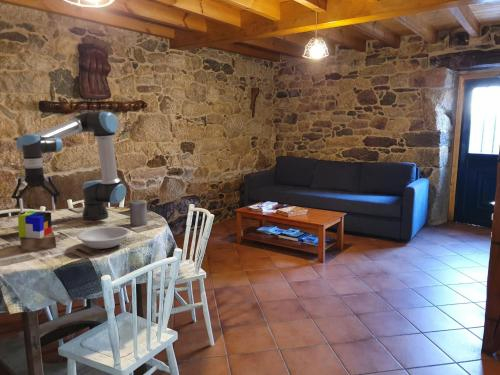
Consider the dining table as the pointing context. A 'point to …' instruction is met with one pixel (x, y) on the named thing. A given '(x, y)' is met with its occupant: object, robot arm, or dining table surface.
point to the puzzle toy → (34, 224)
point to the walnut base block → (38, 243)
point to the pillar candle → (138, 212)
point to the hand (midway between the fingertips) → (38, 211)
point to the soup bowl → (103, 237)
